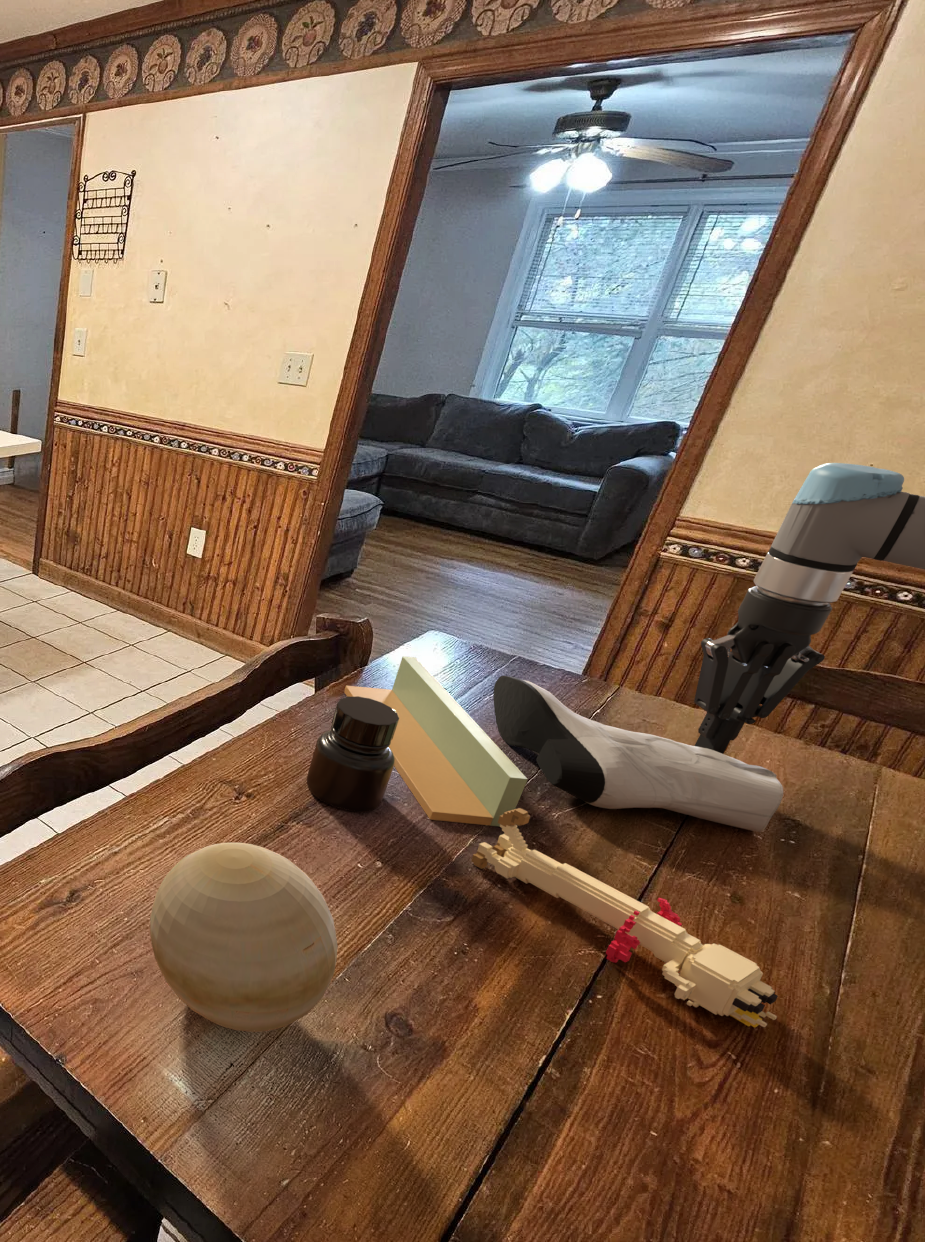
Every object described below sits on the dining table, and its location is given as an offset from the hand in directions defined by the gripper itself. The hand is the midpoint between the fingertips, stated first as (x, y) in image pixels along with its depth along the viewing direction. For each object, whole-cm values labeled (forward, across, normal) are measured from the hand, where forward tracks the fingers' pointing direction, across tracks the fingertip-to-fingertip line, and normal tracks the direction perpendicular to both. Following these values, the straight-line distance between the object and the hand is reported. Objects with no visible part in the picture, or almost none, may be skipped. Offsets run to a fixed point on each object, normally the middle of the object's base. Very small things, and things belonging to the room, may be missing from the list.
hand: (704, 757), depth 106 cm
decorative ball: (+3, +71, +46) cm, 85 cm away
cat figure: (+3, +31, +33) cm, 46 cm away
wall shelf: (+3, +37, 0) cm, 37 cm away
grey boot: (+3, +11, 0) cm, 11 cm away
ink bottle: (+3, +50, +12) cm, 52 cm away
